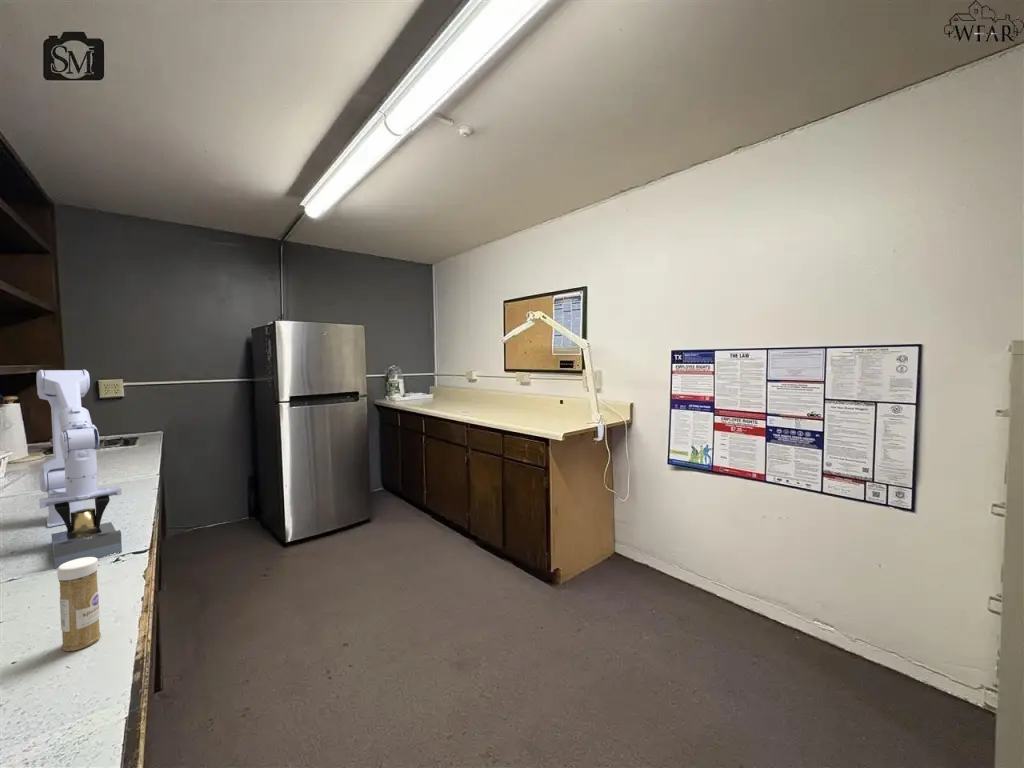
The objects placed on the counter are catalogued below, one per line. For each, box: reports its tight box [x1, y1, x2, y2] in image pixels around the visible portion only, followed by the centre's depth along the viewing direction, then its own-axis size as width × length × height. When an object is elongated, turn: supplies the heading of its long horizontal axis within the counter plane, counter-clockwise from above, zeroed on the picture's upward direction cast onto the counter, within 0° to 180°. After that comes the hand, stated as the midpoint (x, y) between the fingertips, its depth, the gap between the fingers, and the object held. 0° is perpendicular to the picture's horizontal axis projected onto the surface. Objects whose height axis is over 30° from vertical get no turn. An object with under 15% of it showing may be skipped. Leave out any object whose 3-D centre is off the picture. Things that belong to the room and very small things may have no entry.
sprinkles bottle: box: [57, 557, 102, 652], centre depth 69 cm, size 5×5×14 cm
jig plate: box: [51, 521, 123, 570], centre depth 104 cm, size 20×11×5 cm, turn 49°
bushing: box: [71, 507, 96, 539], centre depth 108 cm, size 4×4×7 cm
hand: (83, 528), depth 108 cm, fingers closed on bushing, 4 cm apart
